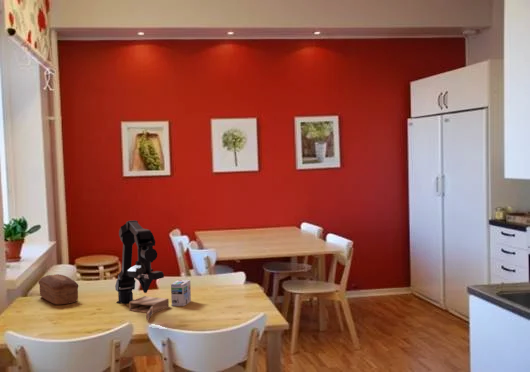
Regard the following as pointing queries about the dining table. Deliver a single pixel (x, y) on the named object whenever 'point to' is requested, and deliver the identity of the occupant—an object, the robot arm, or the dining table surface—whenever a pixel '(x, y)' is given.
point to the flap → (149, 313)
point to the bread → (58, 289)
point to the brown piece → (148, 304)
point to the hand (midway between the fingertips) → (145, 292)
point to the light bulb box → (180, 292)
